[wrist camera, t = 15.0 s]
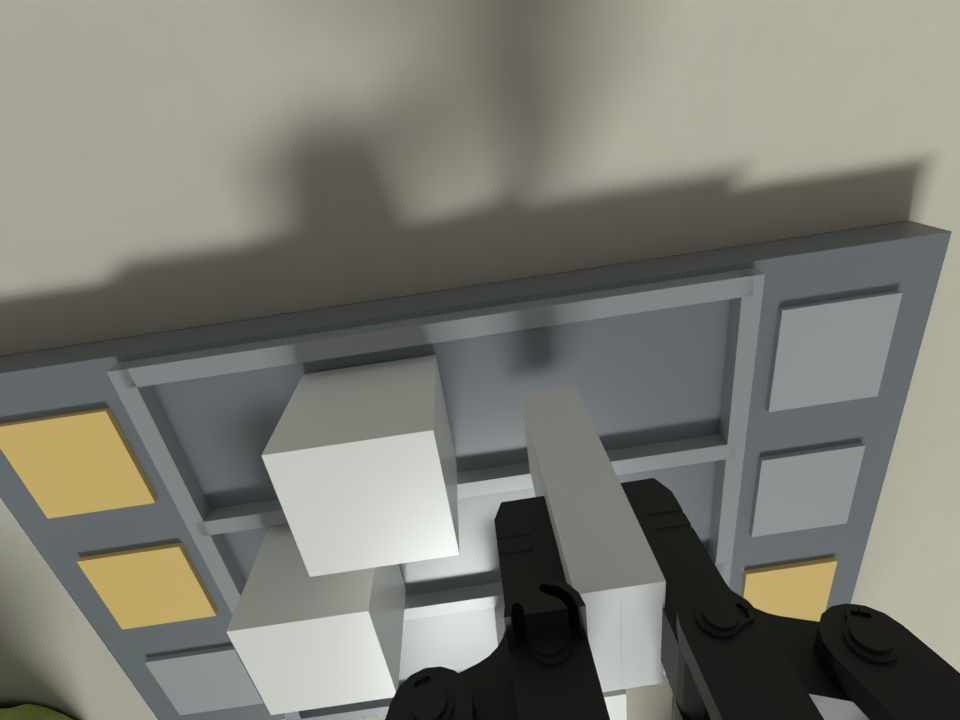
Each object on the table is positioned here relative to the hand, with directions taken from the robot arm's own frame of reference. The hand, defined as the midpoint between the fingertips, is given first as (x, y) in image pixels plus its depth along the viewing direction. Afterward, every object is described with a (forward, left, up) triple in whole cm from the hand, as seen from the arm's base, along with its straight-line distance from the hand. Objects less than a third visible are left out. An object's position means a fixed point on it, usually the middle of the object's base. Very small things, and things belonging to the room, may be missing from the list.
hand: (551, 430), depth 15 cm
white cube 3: (-5, 0, -2) cm, 5 cm away
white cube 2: (-8, -6, -2) cm, 10 cm away
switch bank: (-3, -6, -4) cm, 7 cm away
